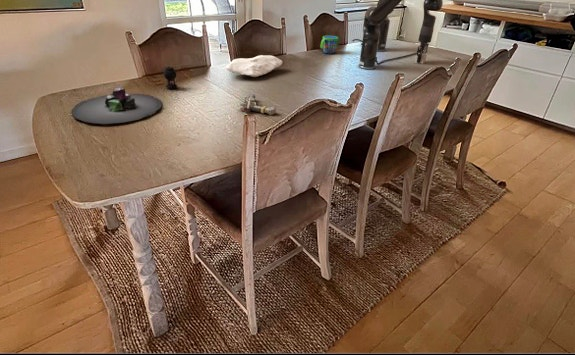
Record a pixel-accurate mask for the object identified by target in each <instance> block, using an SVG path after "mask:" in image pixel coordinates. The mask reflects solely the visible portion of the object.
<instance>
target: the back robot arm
mask: <svg viewBox="0 0 575 355" xmlns="http://www.w3.org/2000/svg"><path fill="white" fill-rule="evenodd" d="M383 1H384V0H377V4H376V7H377V6H378V5H379V4H380V3H381V2H383ZM394 11H395V8H394V9H393V10H392V11H391V12H390V14H389V15H391V14H392V13H393V12H394ZM390 23H391V19H389V17H388V16H387V17H386V18H385V20H384V21H383V22H382V23H381V24H379V32H380V36H379V42H378V49H377V52H386V47H387V40H388V35H389V29H390ZM354 41H358V42H361V43H360V46H362V41H363V39H359V38H354V39H352V40H351V42H354Z"/></svg>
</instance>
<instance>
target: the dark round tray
mask: <svg viewBox="0 0 575 355" xmlns="http://www.w3.org/2000/svg"><path fill="white" fill-rule="evenodd" d="M158 98H159V97H158ZM158 98H157V97H154V96H153V95H149V94H142V93H127V92H126V89H125V88H122V87H120V86H116V87H115V88H114V89H113V90H112V94H106V95H101V96H98V97H92V98H89V99H86V100H83V101H80V102H79V103H77V104H76V105H74V106H73V108H72V109H71V110H70V111H71V117H72V118H74V119H77V120H79V121H82V122H85V123H91V124H97V125H99V124H100V125H113V124H120V123H121V124H122V123H123V124H124V123H129V122H133V121H138V120H141V119H145V118H148V117H150V116H153V115H154V114H157V112H159V111H161V109H162V107H163V104H162V100H160V99H158Z"/></svg>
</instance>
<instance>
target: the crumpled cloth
mask: <svg viewBox="0 0 575 355" xmlns="http://www.w3.org/2000/svg"><path fill="white" fill-rule="evenodd" d="M281 65H283V60H281V59H280V58H278V57H277V56H274V55H268V54H267V55H265V54H264V55H263V54H259V55H257V56H255V57H254V56H253V57H249V58H244V57H243V58H242V57H240V58H234V59H232V60H231V62H229V64H227V65H225V68H226V70H227V71H228V72H231V73H233V74H238V75H240V76H244V75H245V76H247V77H253V78H257V77H259V76H263V75H267V74H268V73H270V72H272V71H273V70H275V69H277V68H279V67H281Z"/></svg>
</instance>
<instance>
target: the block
mask: <svg viewBox="0 0 575 355" xmlns="http://www.w3.org/2000/svg"><path fill="white" fill-rule="evenodd" d="M419 54H420V53H419ZM417 58H418V56H417V54H415V58H414V63H415V64H420V65H423V64H425V63H426V59H427V53H425V54H422V57H421V61H420V63H418V62H417Z"/></svg>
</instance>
